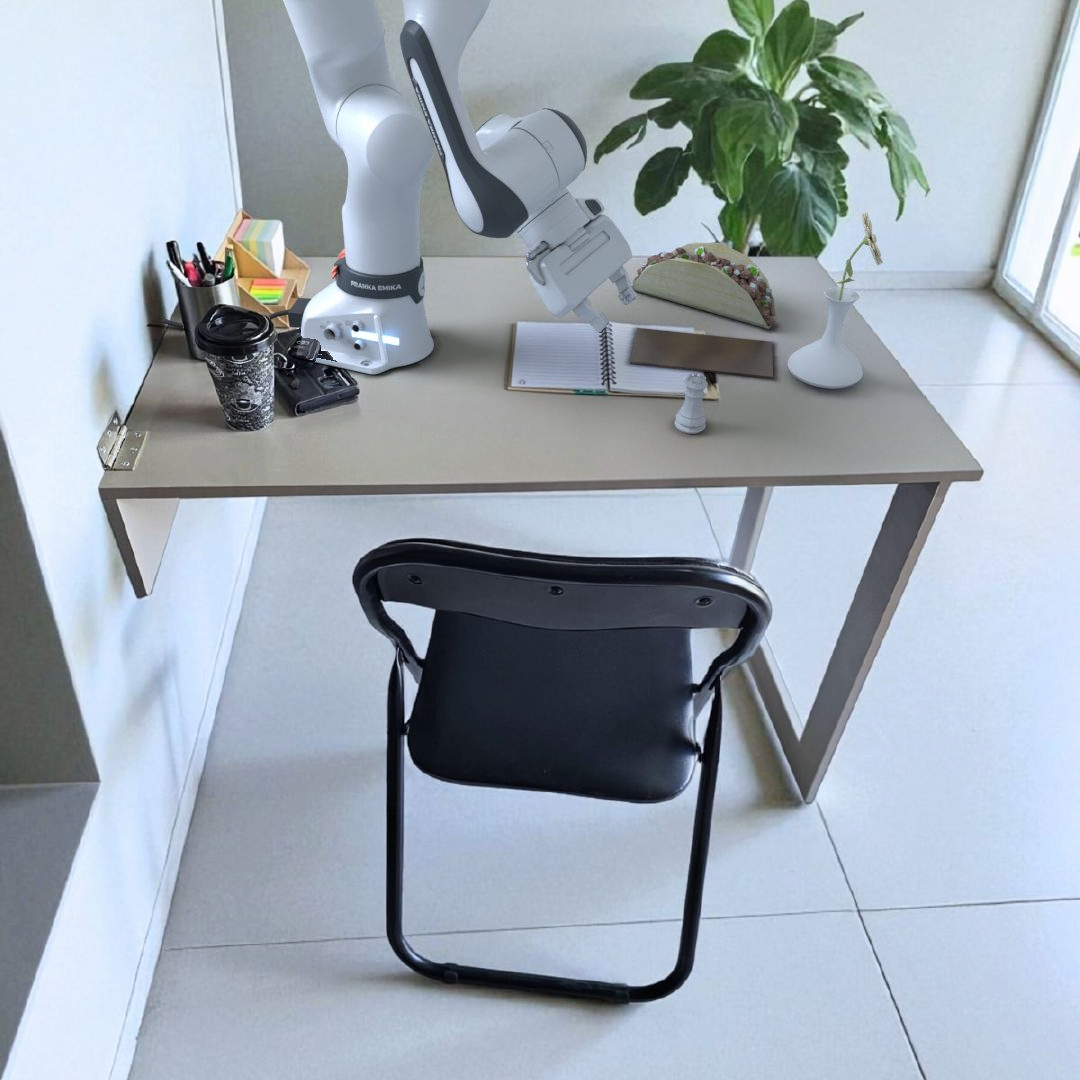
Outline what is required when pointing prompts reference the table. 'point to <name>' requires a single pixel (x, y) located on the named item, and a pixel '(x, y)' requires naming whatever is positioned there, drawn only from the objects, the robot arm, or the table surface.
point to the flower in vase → (834, 334)
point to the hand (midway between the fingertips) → (618, 314)
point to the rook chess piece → (692, 406)
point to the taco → (710, 282)
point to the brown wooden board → (703, 353)
